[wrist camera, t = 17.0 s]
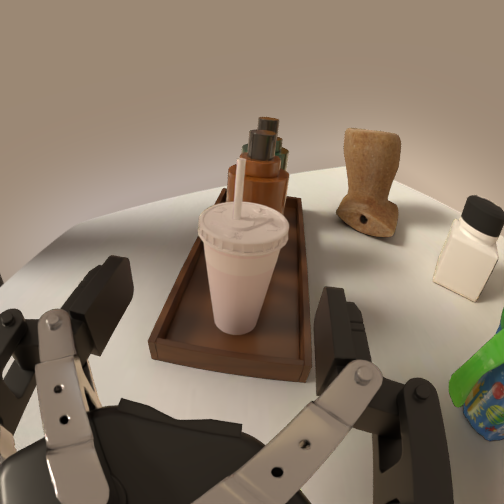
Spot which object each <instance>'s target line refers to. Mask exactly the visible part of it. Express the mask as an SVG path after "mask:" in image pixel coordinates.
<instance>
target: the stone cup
mask: <svg viewBox="0 0 504 504" xmlns="http://www.w3.org/2000/svg"><path fill="white" fill-rule="evenodd" d="M400 152H401V141H400V138H399V136H398V135H397V134H395V133H389V132H382V131H372V130H366V129H357V128H348V129H347V130H346V131H345V140H344V157H345V162H346V169H347V177H348V187H349V189H348V194H347V195H346V196H345V197H344V198H343V200H342V202H341V203H340V205H339V207H338V209H337V210H336V214H337V215H338V216H339V217H340V218H341V219H342V220H343V221H344V222H346V223H347V224H348V225H350V226H351V227H352V228H354V229H355V230H357V231H359V232H362V233H364V234H369V235H371V236H377V237H391V236H392V235H393V234H394V232H395V229H396V225H397V220H398V207H397V205H396V204H394V203H392V202H390V201H388V195H389V191H390V188H391V185H392V182H393V180H394V177H395V175H396V172H397V170H398V167H399V160H400Z"/></svg>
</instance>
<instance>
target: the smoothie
mask: <svg viewBox="0 0 504 504" xmlns="http://www.w3.org/2000/svg"><path fill="white" fill-rule="evenodd" d="M245 165H246V159H244V158H238V159H237V168H236V181H235V194H234V202H225V203H220V204H216V205H213V206H211V207H209V208H207V209H206V210H204V211H203V212H202V213H201V215H200V217H199V227H198V235H199V237H200V238H201V240H202V241H203V242H204V251H205V258H206V266H207V273H208V280H209V287H210V294H211V301H212V308H213V314H214V321H215V324H216V326H217V327H218V328H219V329H220V330H221V331H223V332H225V333H228V334H232V335H242V334H246V333H248V332H250V331H251V330H253V329H254V327H255V326H256V323H257V320H258V317H259V314H260V311H261V308H262V305H263V302H264V299H265V296H266V293H267V289H268V286H269V283H270V280H271V277H272V274H273V271H274V268H275V265H276V262H277V259H278V255H279V252H280V249H281V248H282V247H283V246H285V245H286V243H287V241H288V231H289V223H288V221H287V219H286V218H285V217H284V216H283V215H282V214H281V213H279V212H278V211H276V210H274V209H272V208H270V207H267V206H264V205H260V204H256V203H250V202H242V198H243V187H244V176H245Z"/></svg>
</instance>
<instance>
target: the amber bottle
mask: <svg viewBox="0 0 504 504" xmlns="http://www.w3.org/2000/svg"><path fill="white" fill-rule="evenodd" d="M276 138H277V134H276V133H275V132H272V131H267V130H250V131H249V141H248V152H246V153H242V154H241V155H240V158H244V159H246V165H245V176H244V187H243V198H242V202H250V203H256V204H260V205H264V206H267V207H270V208H272V209H274V210H276V211H278V212H279V213H281V214H282V215H284V209H285V202H286V196H287V189H288V182H289V173H288V172H287V171H285V170H283V169H281V168H280V165H281V159H280V158H279V157H278V156H276V155H275V146H276ZM236 168H237V164H235V165H233V166H231V167H230V168H229V169H228V184H227V199H226V202H234V194H235V181H236Z"/></svg>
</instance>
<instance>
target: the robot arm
mask: <svg viewBox="0 0 504 504" xmlns="http://www.w3.org/2000/svg"><path fill="white" fill-rule="evenodd" d="M133 292H134V286H133V280H132V274H131V268H130V262H129V259H128V258H126V257H120V256H114V255H111V256H109V257H108V259H107V260H106V261H105V262H104V264H103V265H98V266H97V267H95V268H94V269H92V270H90V271H89V272H88V274H87V275H86V276H85V277H84V279H83V281H81V282H80V284H79V285H78V287H77V288H76V289H75V290H74V291H73V293H72V294H71V295H70V297H69V298H68V299H67V301H66V302H65V303H64V305H63V306H62V307H61V309H52V310H50V311H47V312H46V313H44V314H43V315H42V316H41V318H40V319H24V317H23V315H22V313H21V311H20V310H18V309H8V310H6V311H4V312H2V313H1V314H0V504H311V503H310V501H309V500H308V499H307V498H306V496H305V495H304V494H303V493H302V491H301V490H300V488H301V487H302V486H303V485H304V484H305V483H306V482H307V481H308V480H309V479H310V478H311V476H312V475H313V474H314V473H315V472H316V471H317V470H318V469H319V467H320V466H321V465H322V464H323V463H324V462H325V461H326V459H327V458H328V457H329V456H330V455H331V453H332V452H333V451H334V450H335V449H336V447H337V446H338V445H339V444H340V442H341V441H342V440H343V439H344V437H345V436H346V435H347V433H348V432H349V431H350V429H351V428H352V427H353V428H356V429H359V430H362V431H366V432H369V433H372V441H373V504H454V499H453V487H452V477H451V468H450V461H449V453H448V447H447V440H446V435H445V429H444V423H443V418H442V413H441V408H440V403H439V399H438V394H437V391H436V389H435V387H434V386H433V385H432V384H431V383H430V382H429V381H427V380H425V379H423V378H412V379H410V380H409V381H407V382H406V384H401V383H398V382H395V381H392V380H389V379H386V378H384V377H383V376H382V373H381V371H380V370H379V368H378V367H377V366H376V365H374V364H373V363H372V361H371V356H370V351H369V346H368V342H367V337H366V332H365V328H364V324H363V319H362V314H361V311H360V310H359V309H358V307H357V306H356V305H355V303H354V302H346V298H345V293H344V289H343V288H335V287H327V286H325V287H324V288H323V291H322V295H321V298H320V301H319V305H318V308H317V311H316V315H315V319H314V345H315V367H316V396H319V397H318V398H317V399H316V400H315V401H311V402H310V403H309V404H308V405H307V406H306V407H305V408H304V409H303V410H302V411H301V412H300V413H299V414H298V415H297V416H296V417H295V418H294V419H293V420H292V421H291V422H290V423H289V424H288V425H287V426H286V427H285V428H284V429H283V430H282V431H280V432H279V433H278V434H277V435H276V436H275V437H274V438H273V439H272V440H271V441H270V442H269V443H268V444H267V445H264V444H263V443H262V442H261V441H259V440H258V439H256V438H255V437H253V436H251V435H249V434H246V433H244V432H241V431H242V424H238V423H231V422H225V421H219V420H213V419H202V420H177V419H174V418H172V417H170V416H168V415H166V414H164V413H162V412H160V411H158V410H156V409H154V408H152V407H150V406H148V405H144V404H141V403H137V402H134V401H130V400H127V399H123V398H121V400H120V402H119V405H115V406H105V407H102V405H101V403H100V400H99V397H98V394H97V391H96V387H95V383H94V380H93V376H92V372H91V368H90V364H89V361H88V357H89V356H90V354H94V355H97V356H101V354H102V352H103V350H104V348H105V347H106V345H107V343H108V341H109V339H110V337H111V336H112V334H113V332H114V330H115V328H116V326H117V325H118V323H119V321H120V319H121V318H122V316H123V314H124V312H125V311H126V309H127V307H128V305H129V304H130V302H131V300H132V297H133ZM11 356H13V358H14V359H15V360H14V362H13V363H12V365H11V367H10V369H9V371H8V372H7V374H6V376H5V378H4V380H3V378H2V372H3V369H4V367H5V366H6V364H7V362H8V361H9V359H10V357H11ZM36 385H37V393H38V400H39V407H40V413H41V419H42V425H43V430H44V435H45V437H44V438H42V439H40V440H38V441H36V442H35V443H33V444H31V445H29V446H27V447H25V448H23V449H21V450H20V451H18V452H17V451H16V448H15V447H14V446H15V442H14V438H13V436H14V433H15V431H16V428H17V426H18V424H19V421H20V419H21V417H22V415H23V412H24V410H25V408H26V406H27V404H28V402H29V399H30V397H31V395H32V393H33V391H34V389H35V387H36Z"/></svg>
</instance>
